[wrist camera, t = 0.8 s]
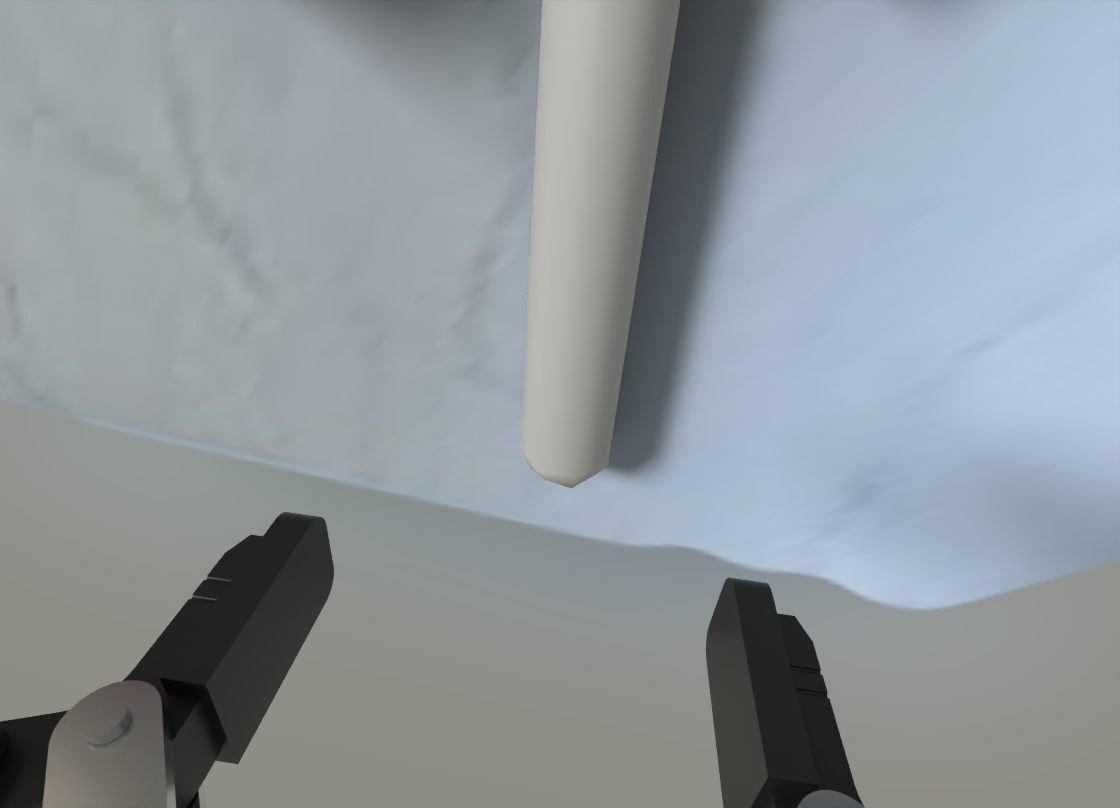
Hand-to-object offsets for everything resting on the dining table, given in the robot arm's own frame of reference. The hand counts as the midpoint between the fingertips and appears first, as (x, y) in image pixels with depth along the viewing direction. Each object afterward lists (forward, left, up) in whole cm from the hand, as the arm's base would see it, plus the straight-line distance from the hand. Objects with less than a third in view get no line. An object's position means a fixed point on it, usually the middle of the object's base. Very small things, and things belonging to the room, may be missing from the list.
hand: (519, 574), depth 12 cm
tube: (0, -1, -20) cm, 20 cm away
